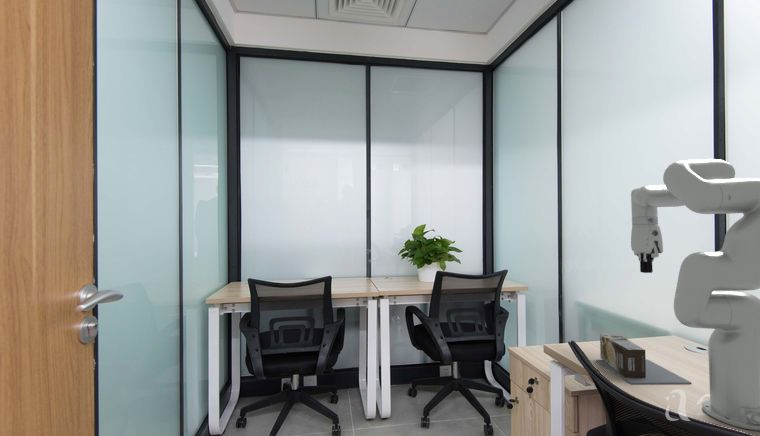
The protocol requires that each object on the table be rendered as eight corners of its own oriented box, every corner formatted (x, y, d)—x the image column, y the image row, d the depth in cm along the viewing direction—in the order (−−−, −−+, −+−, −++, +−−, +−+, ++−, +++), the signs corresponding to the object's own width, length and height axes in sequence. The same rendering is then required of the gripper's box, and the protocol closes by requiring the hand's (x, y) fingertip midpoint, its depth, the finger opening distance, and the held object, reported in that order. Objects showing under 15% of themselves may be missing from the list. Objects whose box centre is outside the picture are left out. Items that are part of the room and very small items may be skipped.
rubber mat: (691, 384, 106) (691, 382, 106) (630, 384, 106) (630, 382, 106) (647, 360, 124) (647, 359, 124) (596, 361, 124) (596, 359, 124)
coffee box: (598, 333, 126) (623, 348, 110) (618, 333, 125) (645, 348, 109) (600, 358, 125) (624, 377, 110) (619, 359, 125) (647, 378, 109)
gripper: (671, 221, 119) (673, 275, 118) (640, 221, 134) (642, 269, 133) (649, 222, 119) (651, 275, 119) (620, 222, 134) (622, 270, 134)
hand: (646, 272), depth 126 cm, fingers closed
